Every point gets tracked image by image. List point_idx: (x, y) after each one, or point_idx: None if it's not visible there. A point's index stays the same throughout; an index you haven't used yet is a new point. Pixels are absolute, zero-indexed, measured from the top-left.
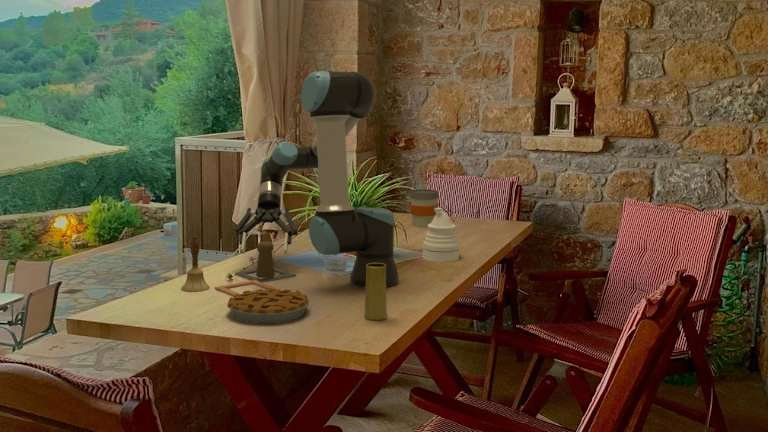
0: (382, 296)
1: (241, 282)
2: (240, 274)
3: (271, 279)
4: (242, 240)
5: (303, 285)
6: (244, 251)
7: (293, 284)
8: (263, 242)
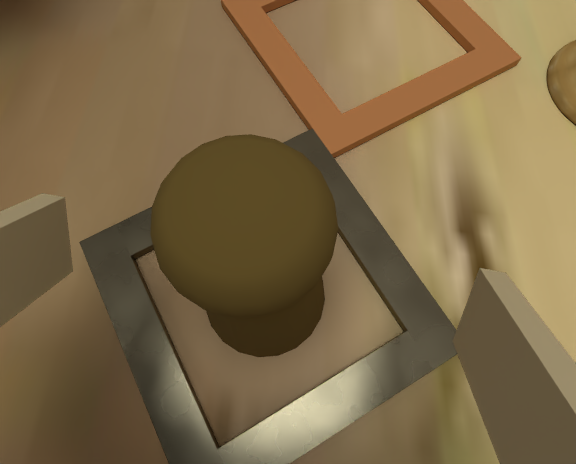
0: None
1: (401, 117)
2: (426, 290)
3: None
4: (561, 347)
5: (100, 72)
6: (463, 333)
7: (142, 93)
8: (263, 168)
